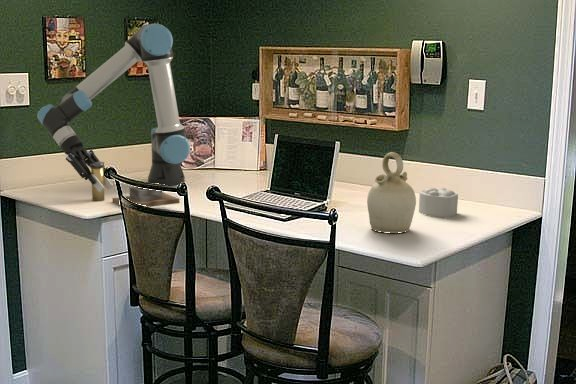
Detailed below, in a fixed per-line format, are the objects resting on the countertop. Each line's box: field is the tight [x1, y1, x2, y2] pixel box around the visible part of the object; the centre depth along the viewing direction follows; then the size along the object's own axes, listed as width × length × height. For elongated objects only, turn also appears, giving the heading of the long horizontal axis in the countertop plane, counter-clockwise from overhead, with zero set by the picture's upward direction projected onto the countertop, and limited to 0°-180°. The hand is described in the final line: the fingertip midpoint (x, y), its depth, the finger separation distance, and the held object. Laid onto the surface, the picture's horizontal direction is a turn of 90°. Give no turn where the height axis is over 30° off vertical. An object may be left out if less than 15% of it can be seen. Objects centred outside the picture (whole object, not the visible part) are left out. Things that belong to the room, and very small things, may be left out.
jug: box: [366, 151, 417, 233], centre depth 235 cm, size 15×16×25 cm
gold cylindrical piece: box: [89, 161, 105, 202], centre depth 273 cm, size 5×5×14 cm
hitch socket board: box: [112, 186, 181, 207], centre depth 271 cm, size 20×14×6 cm
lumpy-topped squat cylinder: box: [418, 187, 459, 218], centre depth 260 cm, size 10×13×9 cm
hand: (106, 188), depth 272 cm, fingers closed on gold cylindrical piece, 4 cm apart
